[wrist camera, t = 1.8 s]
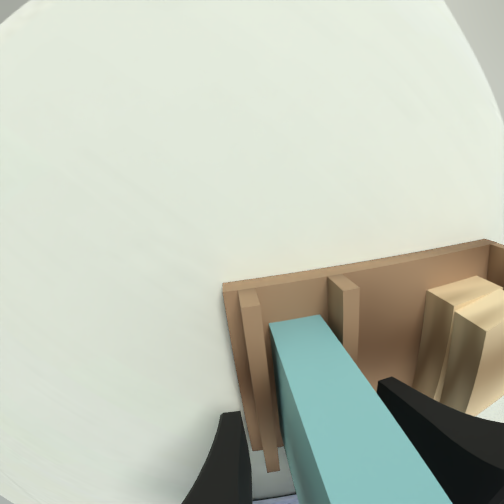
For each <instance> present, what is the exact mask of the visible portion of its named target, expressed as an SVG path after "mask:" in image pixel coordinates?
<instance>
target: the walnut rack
mask: <svg viewBox="0 0 504 504" xmlns="http://www.w3.org/2000/svg"><path fill="white" fill-rule="evenodd" d="M474 276H479V277H481V278H483V279H485V280H488V281H490V282H492V283H494V284H496V285H499V286H501V287H503V290H504V245H502V244H499V243H497V242H494V241H490V240H487V239H482V240H477V241H472V242H467V243H462V244H457V245H452V246H446V247H441V248H436V249H431V250H425V251H420V252H415V253H409V254H404V255H398V256H393V257H387V258H381V259H375V260H370V261H364V262H358V263H352V264H346V265H340V266H334V267H328V268H321V269H315V270H309V271H302V272H296V273H289V274H283V275H276V276H269V277H263V278H256V279H249V280H242V281H235V282H228V283H223V297H224V303H225V309H226V315H227V321H228V327H229V333H230V338H231V344H232V350H233V355H234V361H235V366H236V372H237V377H238V382H239V387H240V393H241V398H242V403H243V408H244V413H245V418H246V423H247V428H248V432H249V437H250V442H251V447H252V451H258V450H263V451H264V457H265V462H266V468H267V473H269V472H275V471H280V467H279V458H278V450H277V447H283V446H284V444H283V440H282V436H281V432H280V426H279V416H278V406H277V397H276V387H275V378H274V368H273V359H272V350H271V340H270V331H269V323H274V322H280V321H286V320H292V319H297V318H303V317H308V316H314V315H319V314H320V315H321V317H322V318H323V320H324V321H325V322H326V324H327V325H328V326H329V328H330V329H331V330H332V332H333V333H334V335H335V336H336V337H337V339H338V340H339V341H340V343H341V344H342V346H343V347H344V348H345V350H346V351H347V353H348V354H349V355H350V357H351V358H352V359H353V361H354V362H355V364H356V365H357V366H358V368H359V369H360V371H361V372H362V373H363V375H364V376H365V378H366V379H367V380H368V382H369V383H370V385H371V386H372V387H373V389H374V390H375V392H377V385H378V381H379V380H382V379H385V378H388V377H391V376H392V377H394V378H396V379H398V380H400V381H401V382H403V383H405V384H407V385H408V386H410V387H412V384H413V380H414V375H415V370H416V365H417V360H418V354H419V348H420V342H421V336H422V329H423V321H424V313H425V304H426V293H427V290H428V289H432V288H436V287H439V286H443V285H447V284H450V283H453V282H457V281H460V280H464V279H467V278H470V277H474Z"/></svg>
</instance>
